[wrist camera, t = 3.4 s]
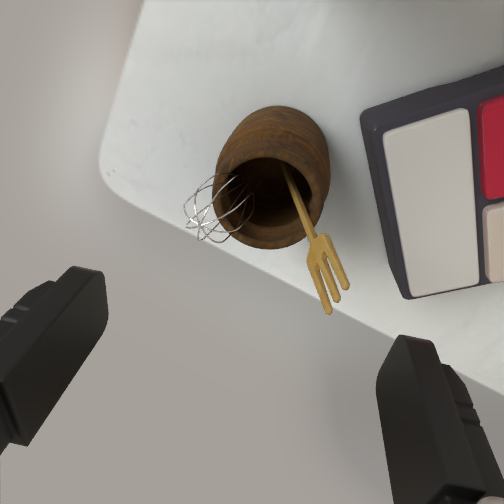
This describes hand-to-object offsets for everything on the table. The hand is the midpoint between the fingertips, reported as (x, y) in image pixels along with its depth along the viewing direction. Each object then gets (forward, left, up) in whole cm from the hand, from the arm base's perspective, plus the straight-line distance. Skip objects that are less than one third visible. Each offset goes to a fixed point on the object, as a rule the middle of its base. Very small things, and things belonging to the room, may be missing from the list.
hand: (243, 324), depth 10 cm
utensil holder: (0, 0, -15) cm, 15 cm away
